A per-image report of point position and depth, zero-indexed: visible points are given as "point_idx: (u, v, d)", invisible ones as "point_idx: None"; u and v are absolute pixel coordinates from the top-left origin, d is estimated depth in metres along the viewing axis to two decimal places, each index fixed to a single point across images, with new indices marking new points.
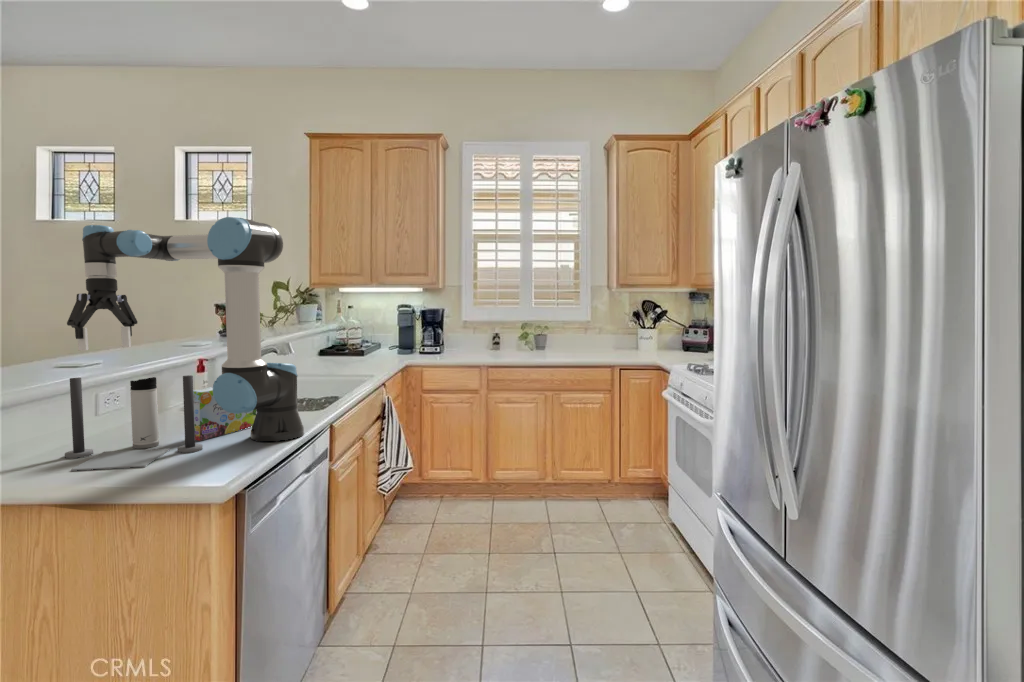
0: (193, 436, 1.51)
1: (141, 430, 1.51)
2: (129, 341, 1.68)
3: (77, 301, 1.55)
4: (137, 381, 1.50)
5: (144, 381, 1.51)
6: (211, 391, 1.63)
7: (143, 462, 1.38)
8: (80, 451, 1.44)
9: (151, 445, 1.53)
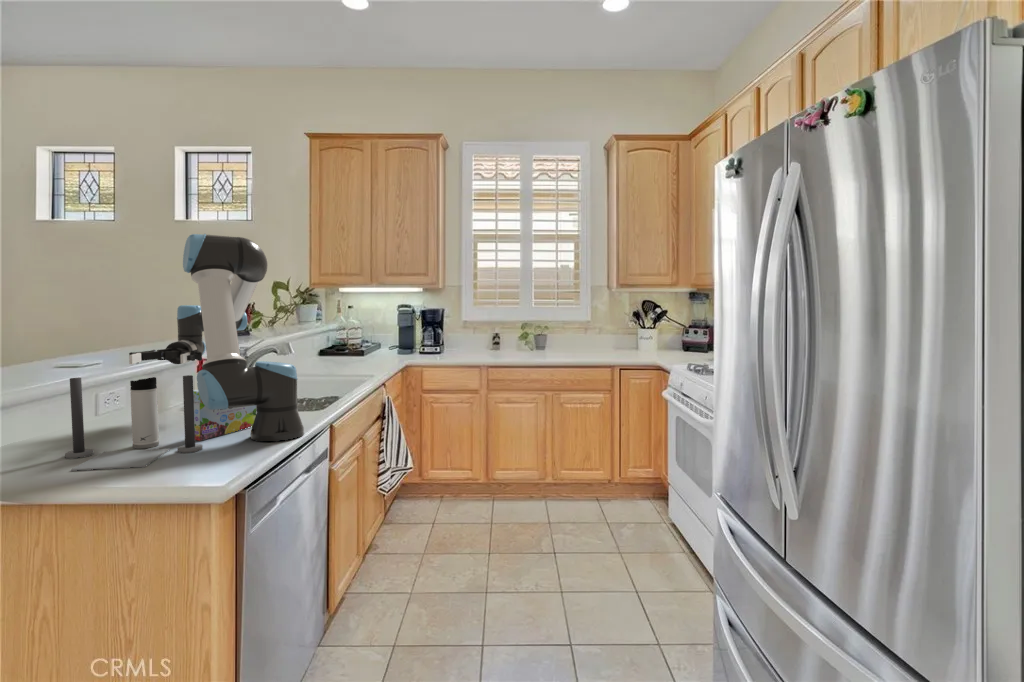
0: (193, 436, 1.51)
1: (141, 430, 1.51)
2: (183, 354, 1.65)
3: None
4: (137, 381, 1.50)
5: (144, 381, 1.51)
6: None
7: (143, 462, 1.38)
8: (80, 451, 1.44)
9: (151, 445, 1.53)
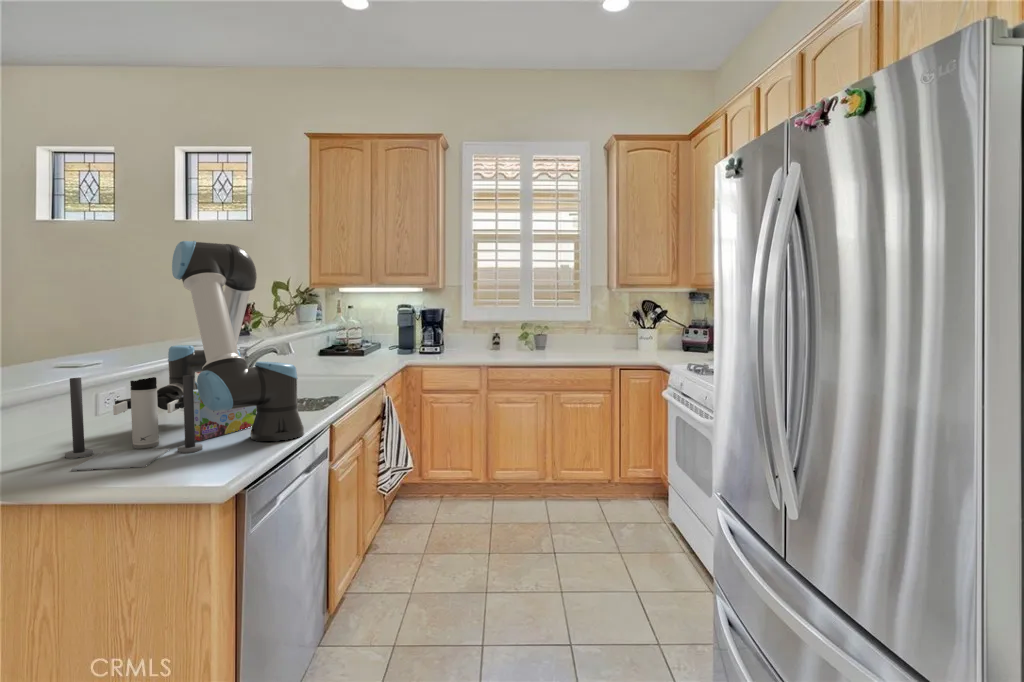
0: (193, 436, 1.51)
1: (141, 430, 1.51)
2: (170, 402, 1.56)
3: None
4: (137, 381, 1.50)
5: (144, 381, 1.51)
6: None
7: (143, 462, 1.38)
8: (80, 451, 1.44)
9: (151, 445, 1.53)
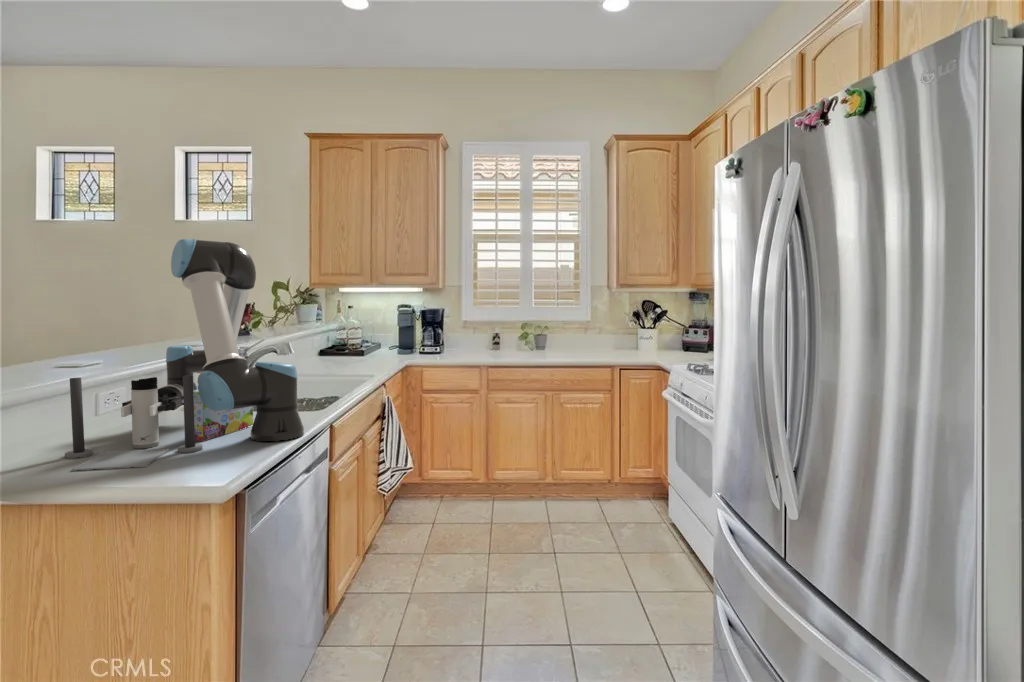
0: (193, 436, 1.51)
1: (141, 430, 1.51)
2: (153, 405, 1.51)
3: None
4: (138, 381, 1.50)
5: (145, 381, 1.51)
6: None
7: (143, 462, 1.38)
8: (80, 451, 1.44)
9: (151, 445, 1.53)
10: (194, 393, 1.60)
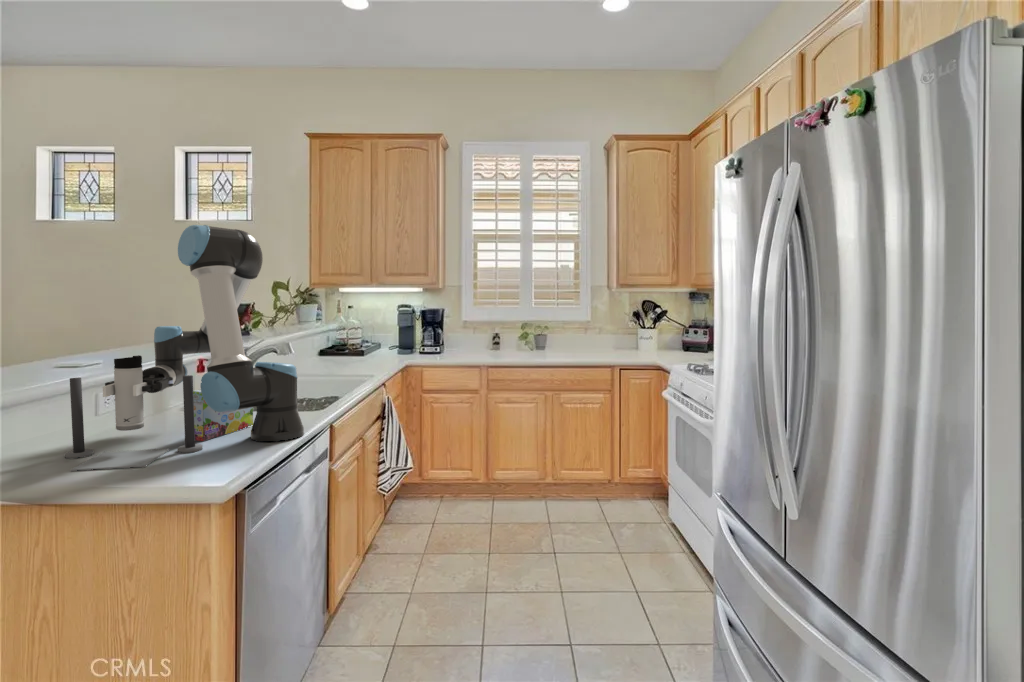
0: (193, 436, 1.51)
1: (124, 411, 1.44)
2: (137, 385, 1.44)
3: None
4: (121, 359, 1.43)
5: (128, 359, 1.43)
6: None
7: (143, 462, 1.38)
8: (80, 451, 1.44)
9: (135, 427, 1.45)
10: (194, 393, 1.60)
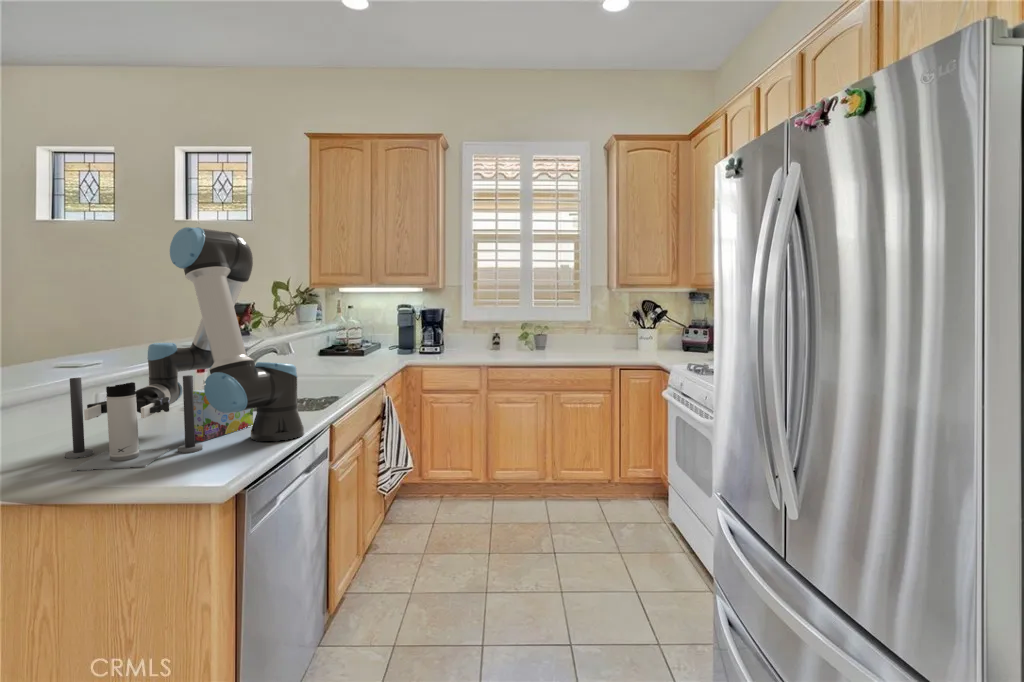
0: (193, 436, 1.51)
1: (118, 441, 1.38)
2: (145, 406, 1.40)
3: None
4: (113, 387, 1.37)
5: (121, 387, 1.37)
6: None
7: (143, 462, 1.38)
8: (80, 451, 1.44)
9: (130, 457, 1.40)
10: (194, 393, 1.60)
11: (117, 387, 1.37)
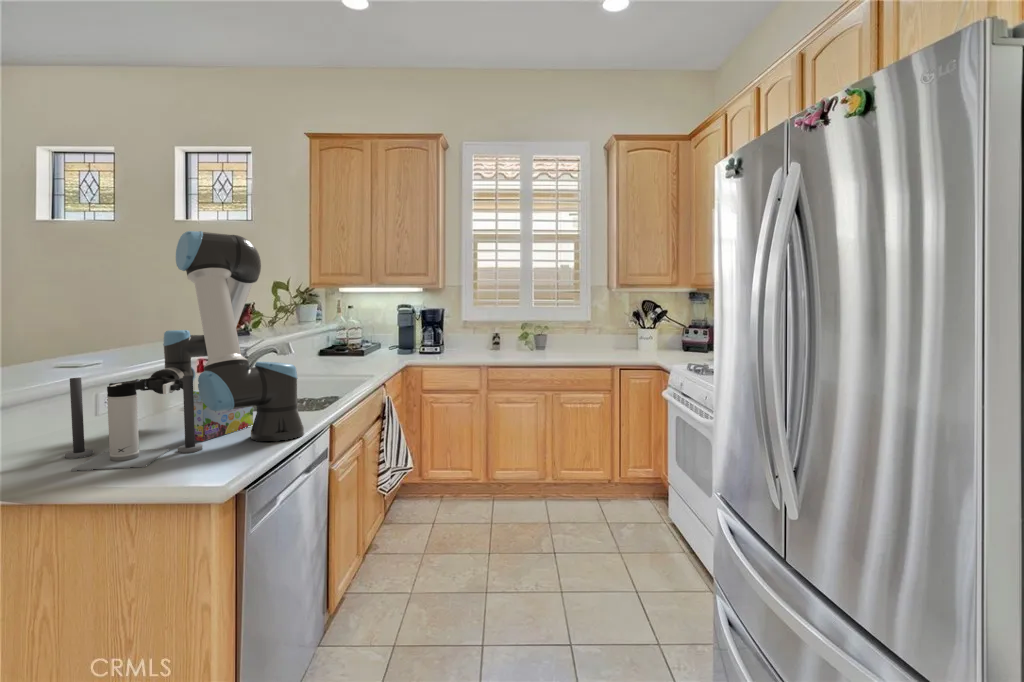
0: (193, 436, 1.51)
1: (119, 441, 1.38)
2: (166, 384, 1.53)
3: None
4: (114, 387, 1.37)
5: (122, 387, 1.37)
6: None
7: (143, 462, 1.38)
8: (80, 451, 1.44)
9: (130, 457, 1.40)
10: (194, 393, 1.60)
11: (118, 387, 1.37)
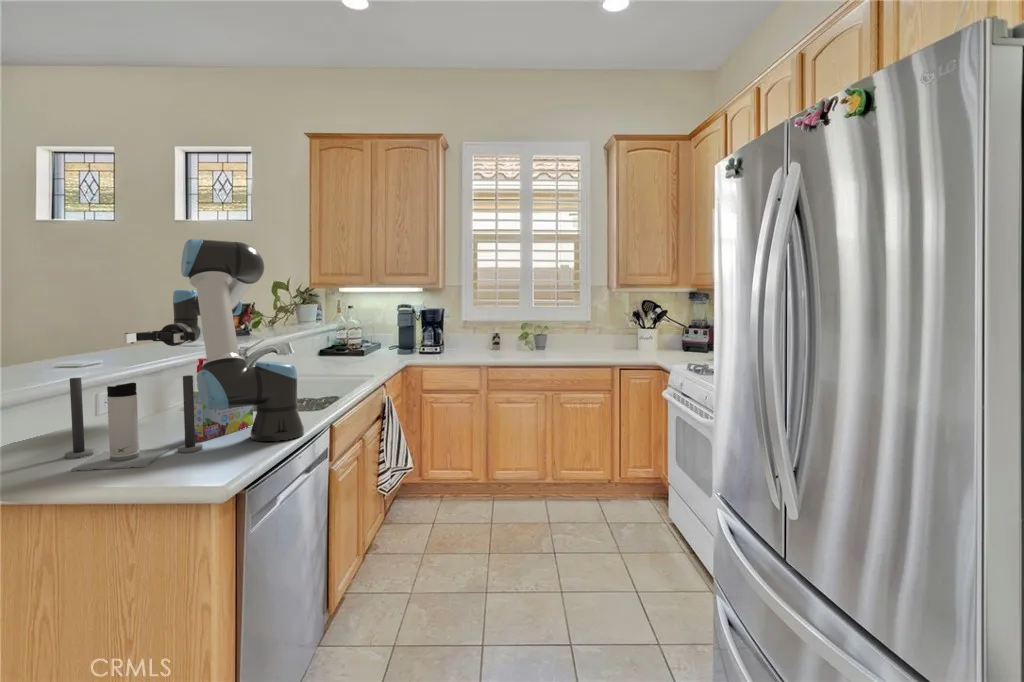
0: (193, 436, 1.51)
1: (119, 441, 1.38)
2: (176, 333, 1.69)
3: None
4: (114, 387, 1.37)
5: (122, 387, 1.37)
6: None
7: (143, 462, 1.38)
8: (80, 451, 1.44)
9: (130, 457, 1.40)
10: (194, 393, 1.60)
11: (118, 387, 1.37)
